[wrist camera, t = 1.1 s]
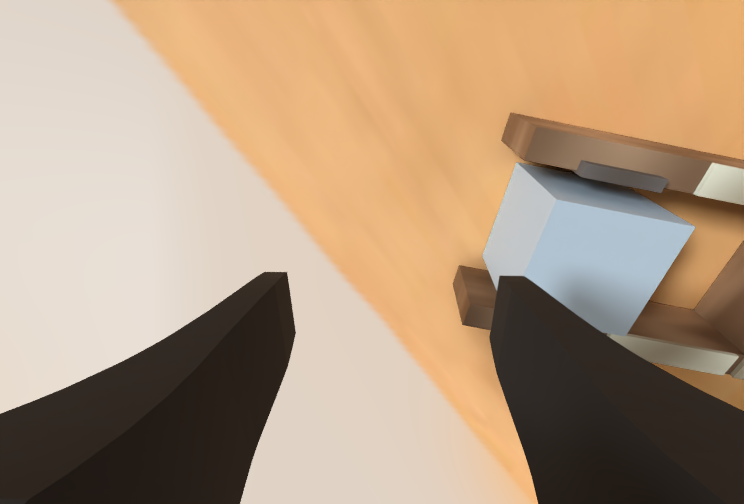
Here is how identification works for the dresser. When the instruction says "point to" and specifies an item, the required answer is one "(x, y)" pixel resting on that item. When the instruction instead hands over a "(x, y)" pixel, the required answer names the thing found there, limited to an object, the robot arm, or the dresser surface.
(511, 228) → the slate block
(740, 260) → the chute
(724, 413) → the robot arm
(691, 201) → the dresser surface
